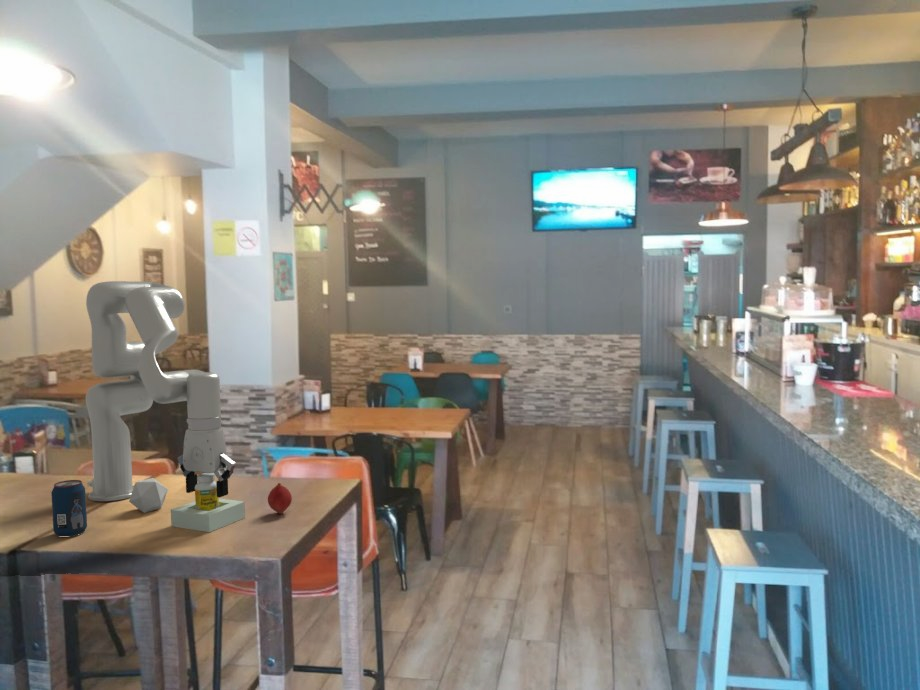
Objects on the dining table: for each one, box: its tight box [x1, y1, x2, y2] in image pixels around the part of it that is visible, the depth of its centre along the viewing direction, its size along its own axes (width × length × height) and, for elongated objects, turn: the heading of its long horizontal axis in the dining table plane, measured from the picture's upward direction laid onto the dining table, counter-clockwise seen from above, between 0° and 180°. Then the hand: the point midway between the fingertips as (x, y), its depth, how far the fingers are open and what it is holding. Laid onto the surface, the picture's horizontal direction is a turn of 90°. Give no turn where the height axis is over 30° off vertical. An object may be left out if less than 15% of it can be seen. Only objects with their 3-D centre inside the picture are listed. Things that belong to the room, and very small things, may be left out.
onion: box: [267, 482, 293, 515], centre depth 183 cm, size 6×6×8 cm
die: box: [128, 477, 169, 514], centre depth 188 cm, size 8×9×10 cm
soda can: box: [51, 479, 88, 537], centre depth 169 cm, size 7×7×12 cm
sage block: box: [170, 497, 246, 533], centre depth 177 cm, size 12×12×4 cm
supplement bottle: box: [194, 473, 220, 511], centre depth 177 cm, size 5×5×10 cm
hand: (207, 493), depth 177 cm, fingers open, 9 cm apart
